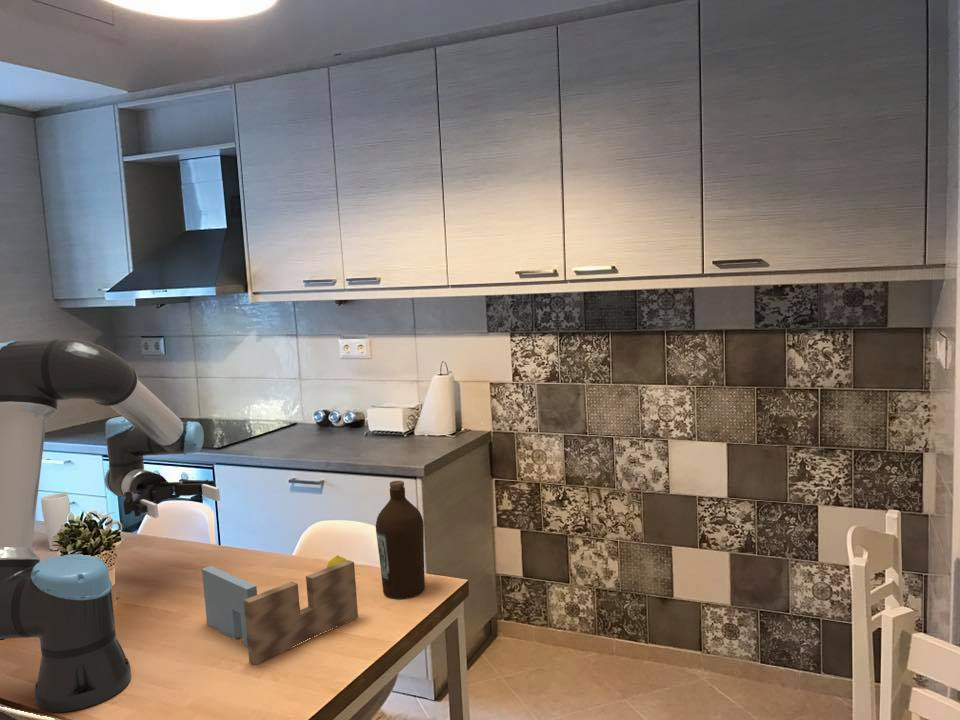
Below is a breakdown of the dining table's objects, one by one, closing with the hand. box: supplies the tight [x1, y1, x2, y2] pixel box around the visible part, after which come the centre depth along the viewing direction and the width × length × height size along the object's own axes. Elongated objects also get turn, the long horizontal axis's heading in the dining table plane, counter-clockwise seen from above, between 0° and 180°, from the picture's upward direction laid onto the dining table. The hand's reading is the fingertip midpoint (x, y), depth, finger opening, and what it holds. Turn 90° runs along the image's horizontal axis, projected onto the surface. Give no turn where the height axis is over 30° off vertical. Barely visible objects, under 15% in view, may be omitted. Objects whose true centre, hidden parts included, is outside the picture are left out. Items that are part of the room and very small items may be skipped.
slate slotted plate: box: [201, 565, 258, 647], centre depth 149 cm, size 18×2×12 cm, turn 47°
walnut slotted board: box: [244, 559, 359, 666], centre depth 146 cm, size 24×2×12 cm, turn 137°
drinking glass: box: [40, 492, 71, 549], centre depth 209 cm, size 7×7×15 cm
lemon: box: [326, 555, 348, 568], centre depth 169 cm, size 6×6×8 cm
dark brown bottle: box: [375, 480, 426, 600], centre depth 166 cm, size 11×11×25 cm
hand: (188, 502), depth 157 cm, fingers open, 13 cm apart
